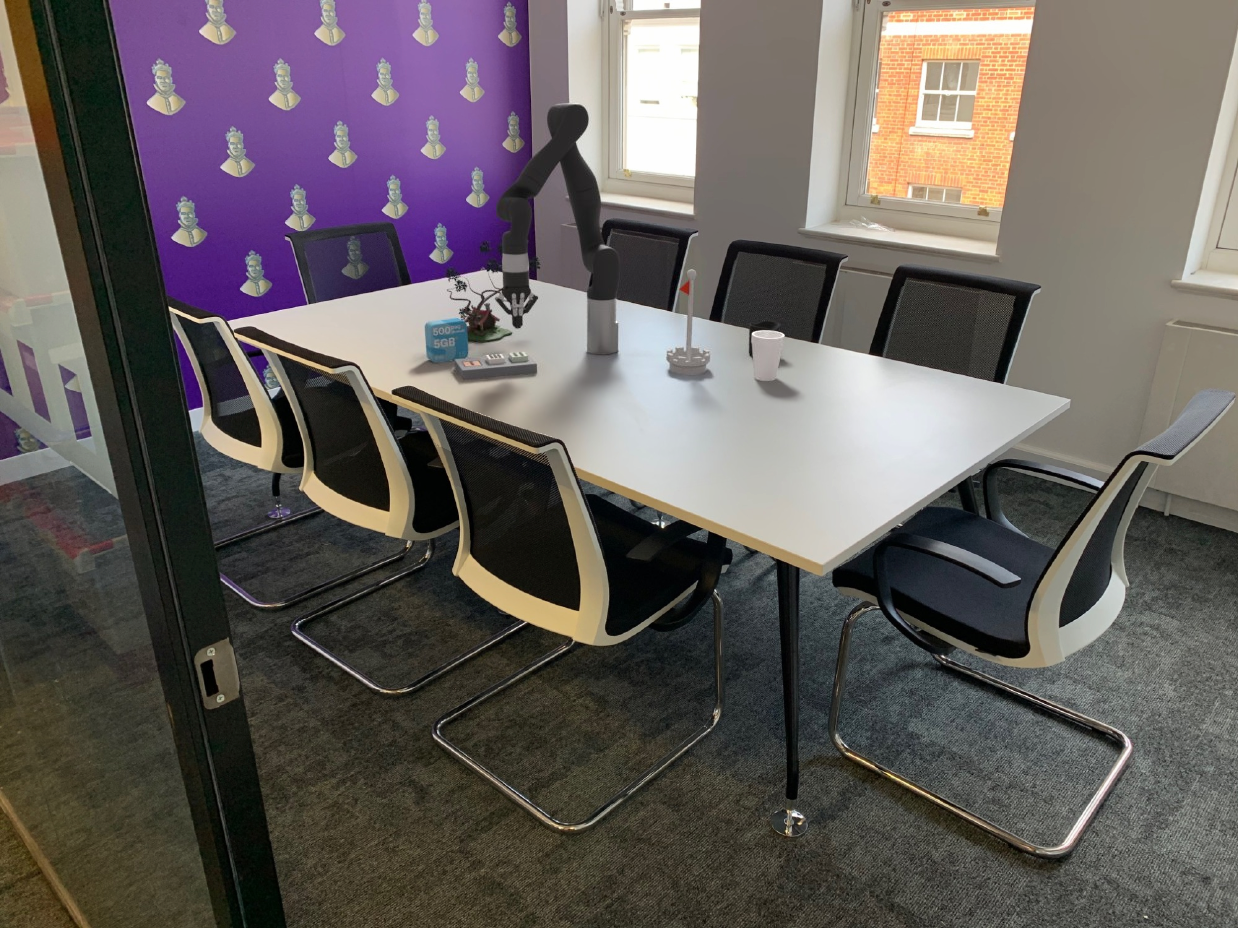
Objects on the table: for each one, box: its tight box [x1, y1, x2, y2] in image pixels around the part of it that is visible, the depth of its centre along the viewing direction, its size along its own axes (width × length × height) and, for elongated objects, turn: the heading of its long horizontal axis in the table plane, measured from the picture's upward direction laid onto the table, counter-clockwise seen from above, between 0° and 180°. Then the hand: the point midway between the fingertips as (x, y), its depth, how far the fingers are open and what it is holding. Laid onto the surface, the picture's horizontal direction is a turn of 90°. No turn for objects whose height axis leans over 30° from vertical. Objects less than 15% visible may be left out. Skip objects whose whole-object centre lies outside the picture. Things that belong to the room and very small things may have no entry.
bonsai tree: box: [445, 240, 541, 343], centre depth 312 cm, size 35×24×32 cm
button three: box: [485, 353, 505, 365], centre depth 279 cm, size 5×5×3 cm
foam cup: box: [751, 330, 785, 382], centre depth 274 cm, size 10×9×13 cm
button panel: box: [454, 352, 538, 381], centre depth 279 cm, size 22×12×3 cm, turn 110°
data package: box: [424, 317, 469, 364], centre depth 289 cm, size 12×4×12 cm, turn 123°
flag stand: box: [666, 268, 711, 376], centre depth 278 cm, size 13×13×30 cm
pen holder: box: [748, 320, 781, 357], centre depth 297 cm, size 9×9×10 cm
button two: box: [508, 351, 529, 362], centre depth 281 cm, size 5×5×3 cm
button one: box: [463, 361, 481, 367], centre depth 277 cm, size 5×5×3 cm
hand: (517, 327), depth 277 cm, fingers closed
